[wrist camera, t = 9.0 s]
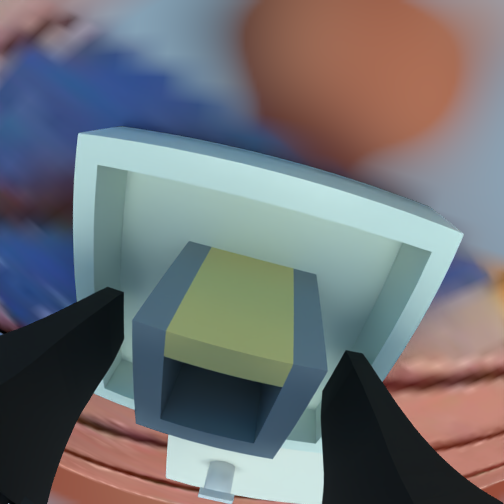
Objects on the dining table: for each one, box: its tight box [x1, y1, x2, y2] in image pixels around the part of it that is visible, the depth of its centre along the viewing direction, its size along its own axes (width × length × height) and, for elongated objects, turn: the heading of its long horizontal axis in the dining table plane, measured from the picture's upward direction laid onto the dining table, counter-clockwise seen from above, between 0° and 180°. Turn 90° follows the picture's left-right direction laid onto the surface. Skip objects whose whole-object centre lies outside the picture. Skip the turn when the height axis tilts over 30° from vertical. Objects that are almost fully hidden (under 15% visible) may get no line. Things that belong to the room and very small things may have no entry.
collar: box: [132, 241, 328, 459], centre depth 9 cm, size 4×4×4 cm
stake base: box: [166, 435, 324, 504], centre depth 16 cm, size 14×10×4 cm
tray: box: [73, 126, 464, 453], centre depth 11 cm, size 11×11×3 cm
